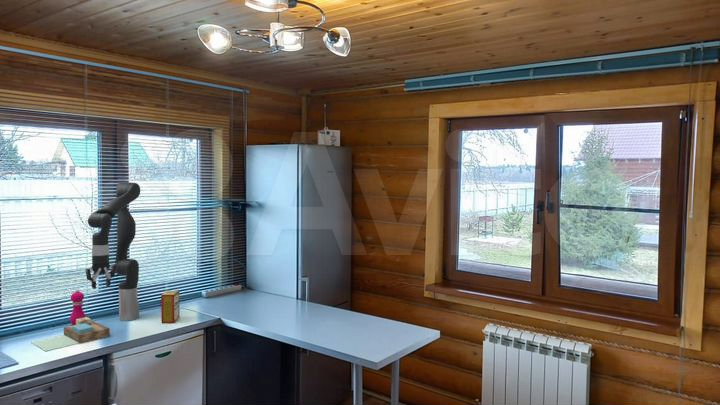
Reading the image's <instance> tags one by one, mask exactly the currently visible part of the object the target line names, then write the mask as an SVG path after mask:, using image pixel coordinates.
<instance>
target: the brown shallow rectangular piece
mask: <svg viewBox="0 0 720 405" xmlns="http://www.w3.org/2000/svg"><path fill="white" fill-rule="evenodd" d="M73 326H74V325H73ZM90 326H92V327H93V331H91V332H86V333H82V334H79V333H77V332H75V331H73V330H72V326H71V325H70V326H69V325H68V326H64V327H63V335H65V336H67V337H69V338H71V339H73V340H75V341H76V342H78V343H79V344H83V343H87V342H91V341H95V340H96V341H97V340H100V339H103V338H108V337H110V330H111V329H110V327H108V326H105V325H103V324H102V323H99V322H96V321H94V320H93V321H92V320H91V325H90Z"/></svg>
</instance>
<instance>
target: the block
mask: <svg viewBox="0 0 720 405" xmlns="http://www.w3.org/2000/svg"><path fill="white" fill-rule="evenodd" d="M91 322H92V319H91V318H89V317H87V316H86V317H84V318H79V319H76V325H79V324H84V323H86V324H88V325H91Z"/></svg>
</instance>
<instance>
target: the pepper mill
mask: <svg viewBox="0 0 720 405" xmlns="http://www.w3.org/2000/svg"><path fill="white" fill-rule="evenodd" d="M84 299H85V295H84V293H83V292H81V291H80V289H79V288H77V289H75V290H74V292H73V293H72V294H71V295H70V301H71V305H72V312H71V315H70V316H69V321H70V323H71V325H70V326H73V325H76V319H79V318H84V317H87V316H86V314H85V312H84V310H83V304H84V301H83V300H84Z"/></svg>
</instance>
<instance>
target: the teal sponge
mask: <svg viewBox="0 0 720 405" xmlns="http://www.w3.org/2000/svg"><path fill="white" fill-rule="evenodd" d="M72 330H73V331H75V332H77V333H79V334H82V333H86V332H91V331H93V327H92V326H90V325H88V324H86V323H84V324H79V325H74V326H72Z"/></svg>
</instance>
